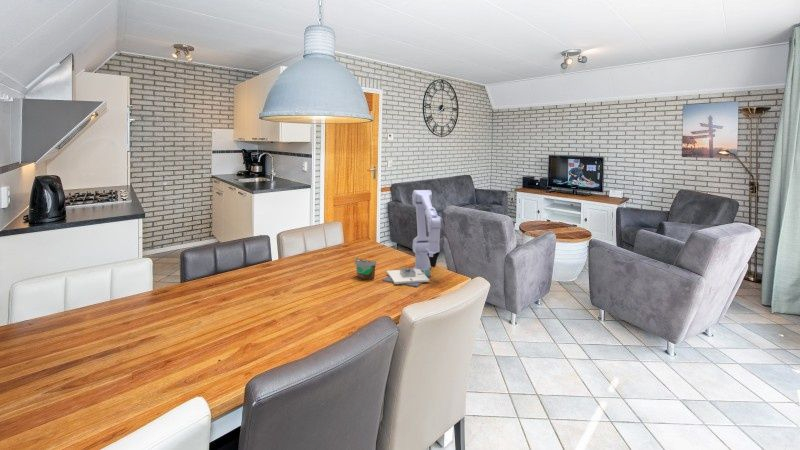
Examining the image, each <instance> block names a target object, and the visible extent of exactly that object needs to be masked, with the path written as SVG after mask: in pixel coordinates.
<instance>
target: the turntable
mask: <svg viewBox="0 0 800 450" xmlns="http://www.w3.org/2000/svg"><path fill="white" fill-rule="evenodd" d="M413 270H414V271H415V272H416V276H415V277H402V275H401V274H400V269H393V270H392V269H390V270H386V274H387V276H389V277H390V278H391V279H392V281H393V282H394V283H393V284H394V285H400V284H402V283H416V282H423V283H426V282H427V283H428V282H430V278H427V277H426V276H430V275H431V268H428V269H424V271H421V270H420V269H413Z"/></svg>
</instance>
